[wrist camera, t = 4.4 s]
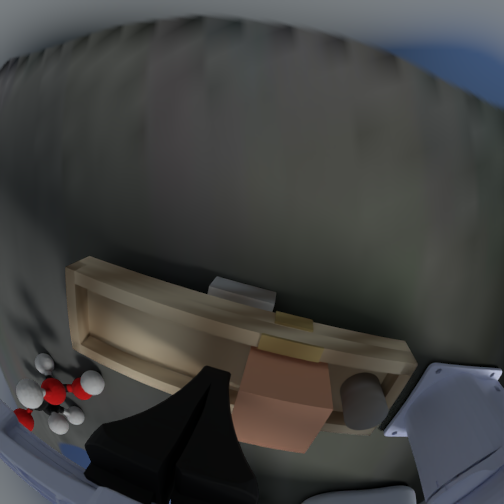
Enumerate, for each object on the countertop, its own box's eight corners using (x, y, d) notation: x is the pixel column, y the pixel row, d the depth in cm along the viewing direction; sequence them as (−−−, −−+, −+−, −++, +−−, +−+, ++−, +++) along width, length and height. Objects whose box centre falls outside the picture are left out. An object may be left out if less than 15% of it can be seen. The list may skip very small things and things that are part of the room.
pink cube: (327, 359, 13) (333, 409, 10) (304, 404, 14) (304, 453, 11) (252, 342, 14) (239, 390, 10) (238, 390, 15) (224, 437, 11)
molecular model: (107, 395, 27) (70, 455, 20) (56, 354, 26) (16, 411, 19) (110, 367, 17) (44, 470, 9) (32, 299, 16) (-37, 388, 9)
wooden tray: (400, 321, 16) (430, 370, 11) (358, 400, 18) (368, 453, 13) (103, 242, 17) (51, 264, 12) (103, 328, 19) (63, 363, 14)
